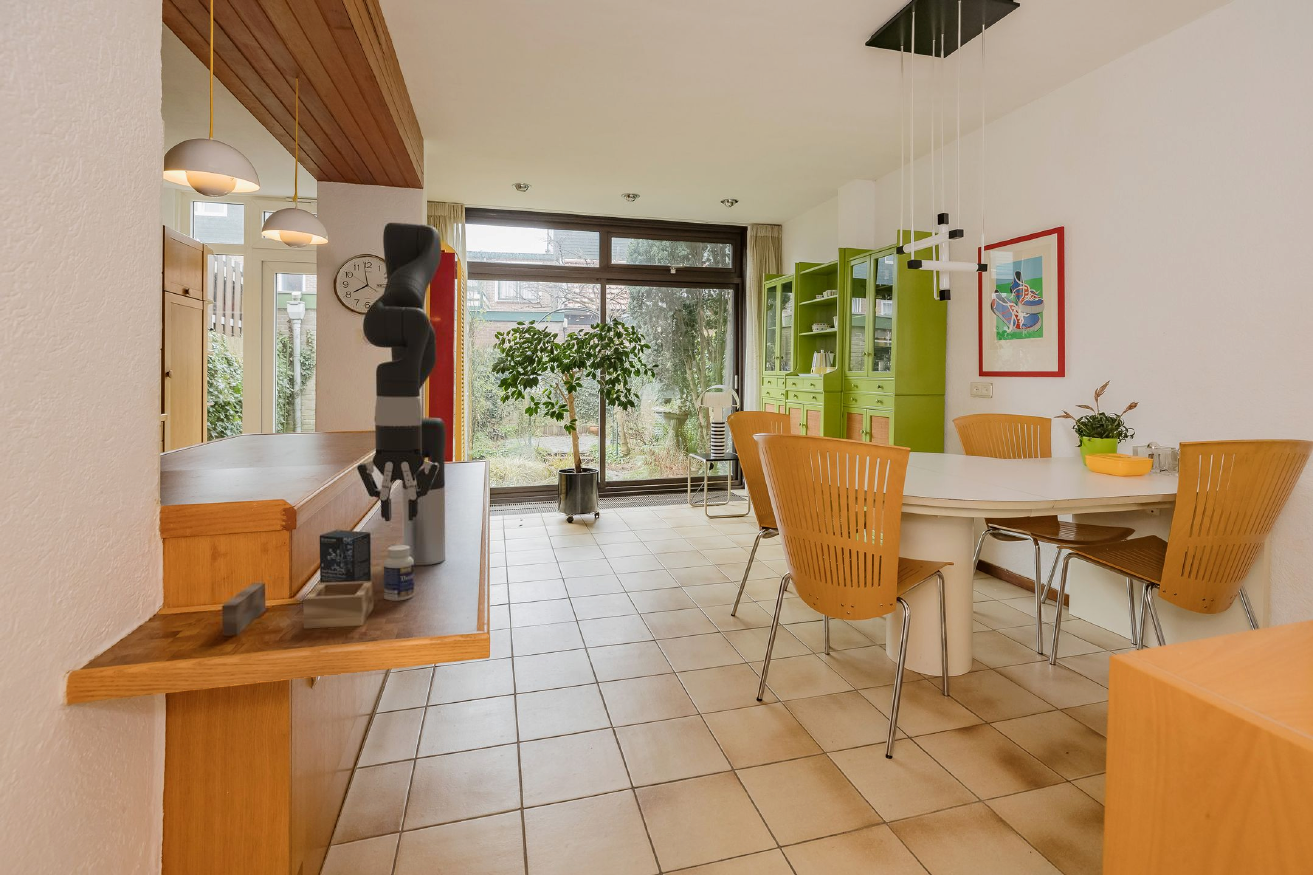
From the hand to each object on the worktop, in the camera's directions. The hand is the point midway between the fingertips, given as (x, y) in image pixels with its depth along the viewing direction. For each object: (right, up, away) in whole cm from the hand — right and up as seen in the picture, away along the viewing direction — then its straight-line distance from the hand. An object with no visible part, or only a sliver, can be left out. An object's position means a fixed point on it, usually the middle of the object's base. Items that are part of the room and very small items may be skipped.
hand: (399, 519), depth 114 cm
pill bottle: (-4, -16, +11) cm, 20 cm away
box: (-18, -16, +18) cm, 30 cm away
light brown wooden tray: (-10, -17, -1) cm, 20 cm away
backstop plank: (-25, -17, -4) cm, 30 cm away
